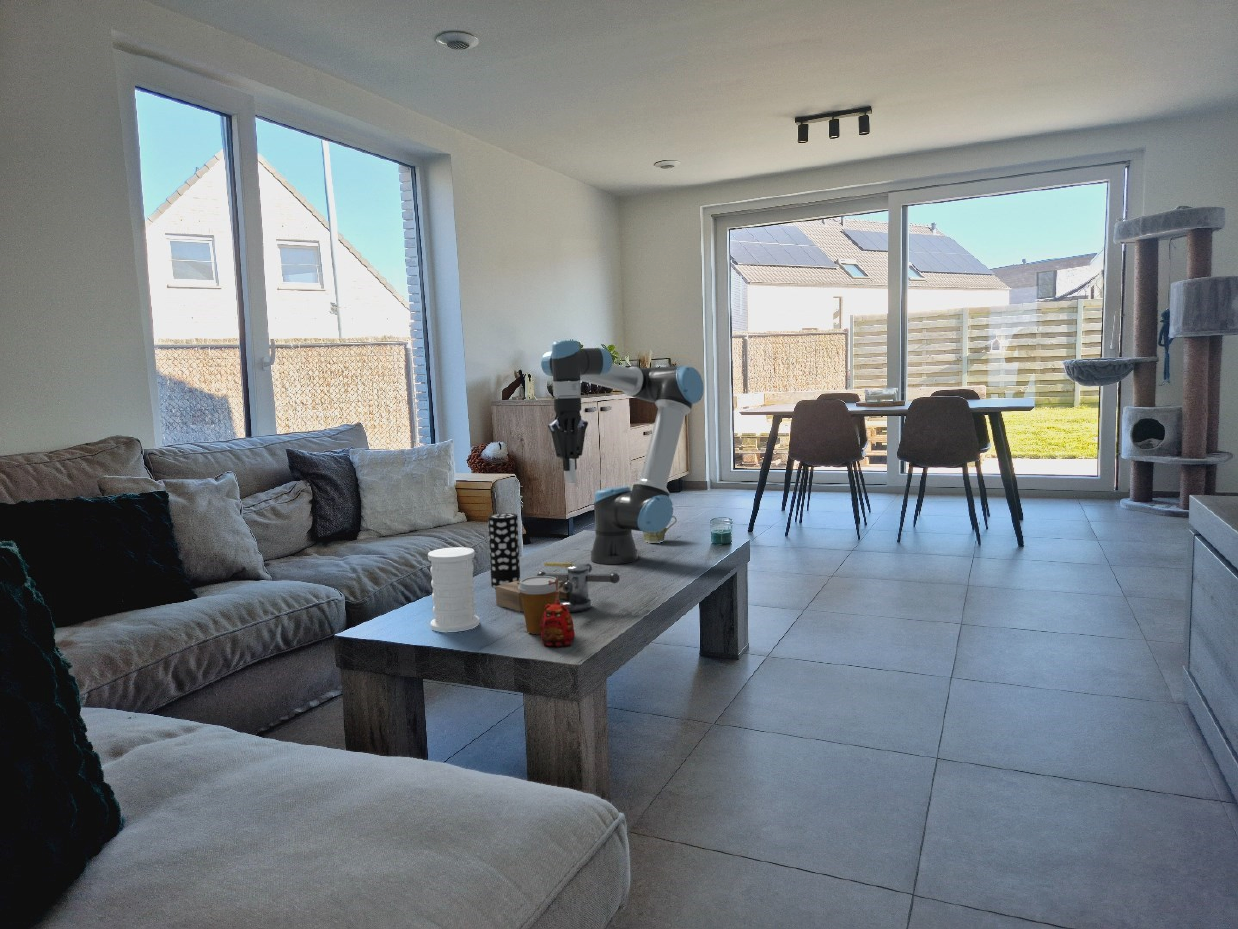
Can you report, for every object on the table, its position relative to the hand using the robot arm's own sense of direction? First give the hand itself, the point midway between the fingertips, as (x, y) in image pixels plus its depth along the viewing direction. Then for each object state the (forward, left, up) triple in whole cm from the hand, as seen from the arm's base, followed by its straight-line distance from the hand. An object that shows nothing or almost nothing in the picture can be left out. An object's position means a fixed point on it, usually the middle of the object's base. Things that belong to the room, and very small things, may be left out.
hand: (570, 482), depth 224 cm
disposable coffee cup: (+32, +25, -30) cm, 50 cm away
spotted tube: (+12, -16, -30) cm, 36 cm away
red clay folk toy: (+35, +35, -30) cm, 58 cm away
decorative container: (+43, +6, -30) cm, 53 cm away
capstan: (+14, +18, -29) cm, 37 cm away
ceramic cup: (-58, -22, -30) cm, 69 cm away
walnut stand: (+17, +7, -29) cm, 35 cm away
